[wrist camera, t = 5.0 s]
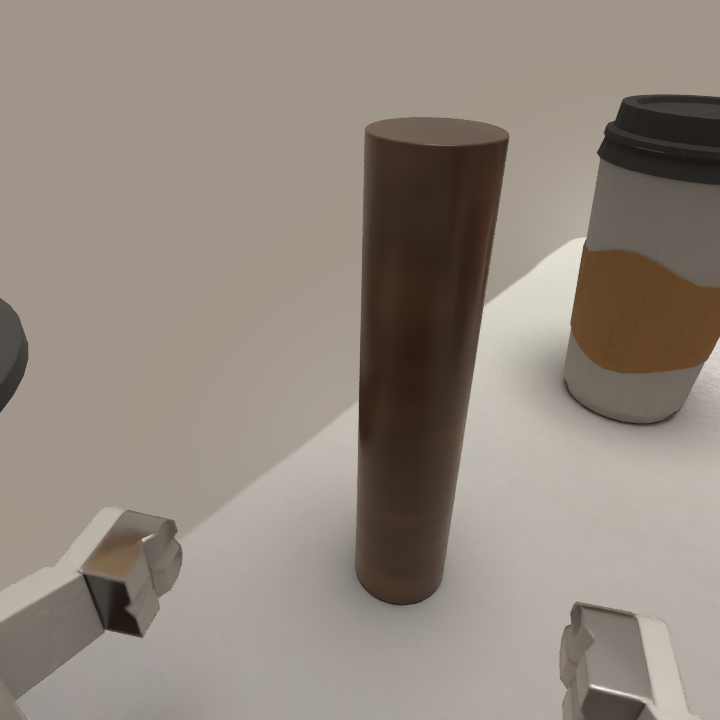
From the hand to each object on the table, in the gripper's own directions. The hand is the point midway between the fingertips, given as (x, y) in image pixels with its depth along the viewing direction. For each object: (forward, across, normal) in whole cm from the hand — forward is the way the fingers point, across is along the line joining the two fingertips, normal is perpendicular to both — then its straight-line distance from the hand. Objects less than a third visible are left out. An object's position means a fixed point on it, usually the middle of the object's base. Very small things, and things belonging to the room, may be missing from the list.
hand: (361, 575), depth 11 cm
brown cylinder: (+7, 0, +9) cm, 11 cm away
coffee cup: (+22, -10, +9) cm, 26 cm away
